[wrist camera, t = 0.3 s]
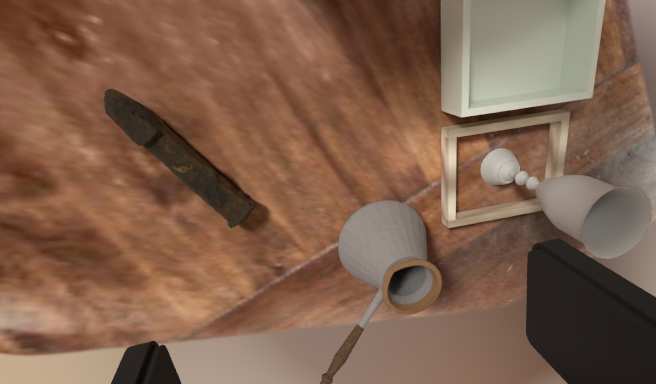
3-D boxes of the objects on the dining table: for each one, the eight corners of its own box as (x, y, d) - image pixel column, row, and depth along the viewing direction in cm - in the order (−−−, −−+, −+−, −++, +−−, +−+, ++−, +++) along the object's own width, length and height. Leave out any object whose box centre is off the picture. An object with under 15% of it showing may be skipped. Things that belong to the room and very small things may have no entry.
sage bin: (440, -9, 42) (463, -16, 37) (572, -23, 44) (610, -32, 39) (441, 110, 47) (461, 117, 42) (560, 93, 49) (592, 97, 44)
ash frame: (441, 127, 47) (448, 130, 46) (558, 109, 49) (570, 111, 47) (441, 221, 52) (448, 228, 50) (548, 202, 54) (559, 207, 52)
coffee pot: (378, 174, 48) (428, 224, 34) (433, 228, 52) (498, 292, 38) (264, 289, 51) (267, 379, 37) (325, 332, 55) (348, 426, 41)
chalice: (531, 170, 52) (661, 226, 35) (490, 202, 52) (600, 272, 36) (506, 129, 49) (635, 169, 32) (464, 163, 50) (569, 220, 33)
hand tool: (257, 199, 47) (257, 213, 42) (232, 219, 47) (230, 236, 43) (133, 71, 40) (118, 74, 35) (104, 97, 40) (86, 102, 36)
